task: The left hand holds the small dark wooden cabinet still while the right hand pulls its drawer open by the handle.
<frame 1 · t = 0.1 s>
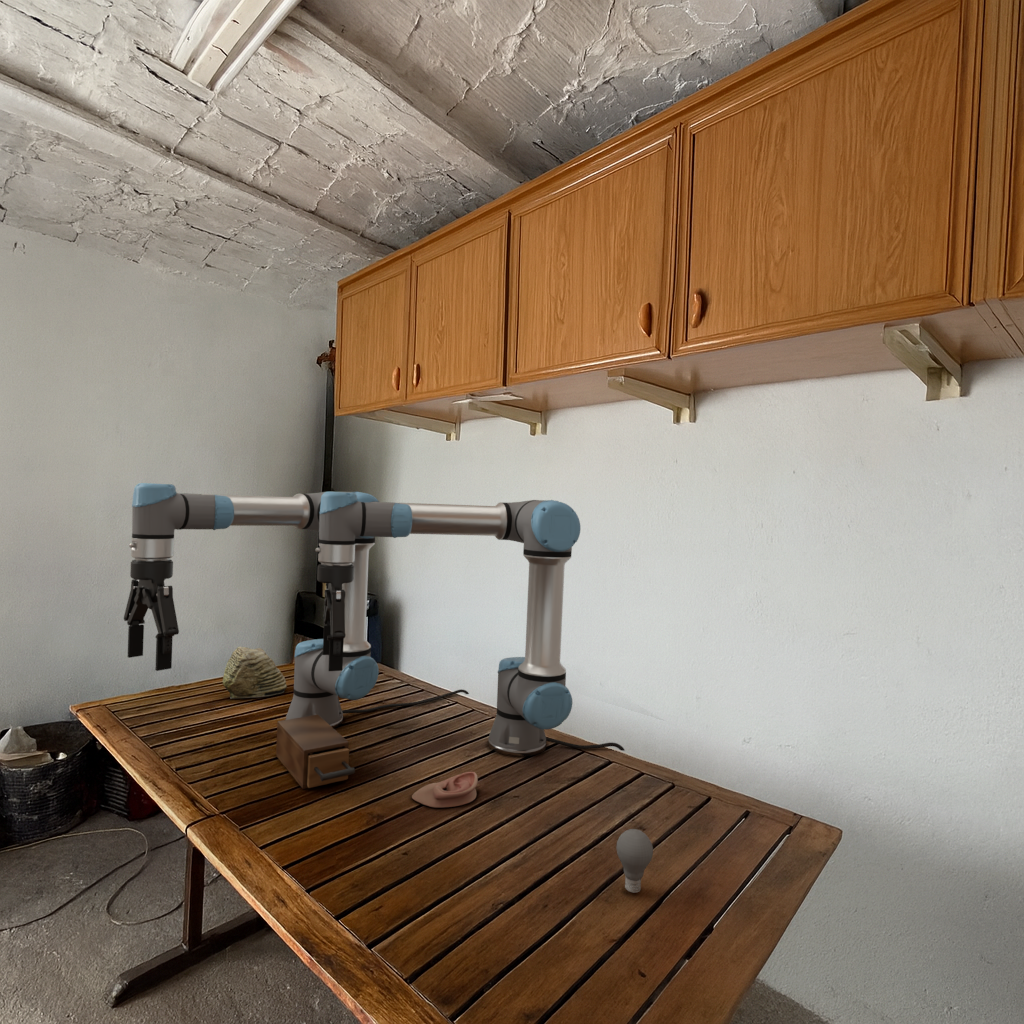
left hand: (148, 662, 129), 28 cm above the table, tool pointing down, fingers open, 13 cm apart
right hand: (332, 662, 136), 28 cm above the table, tool pointing down, fingers open, 13 cm apart
anatomical model: (445, 796, 136), on the table
cabinet: (310, 767, 148), on the table
light bulb: (632, 891, 106), on the table
fossil: (254, 694, 198), on the table
drawer: (318, 757, 143), point 4 cm above the table, slide at 0.9 cm
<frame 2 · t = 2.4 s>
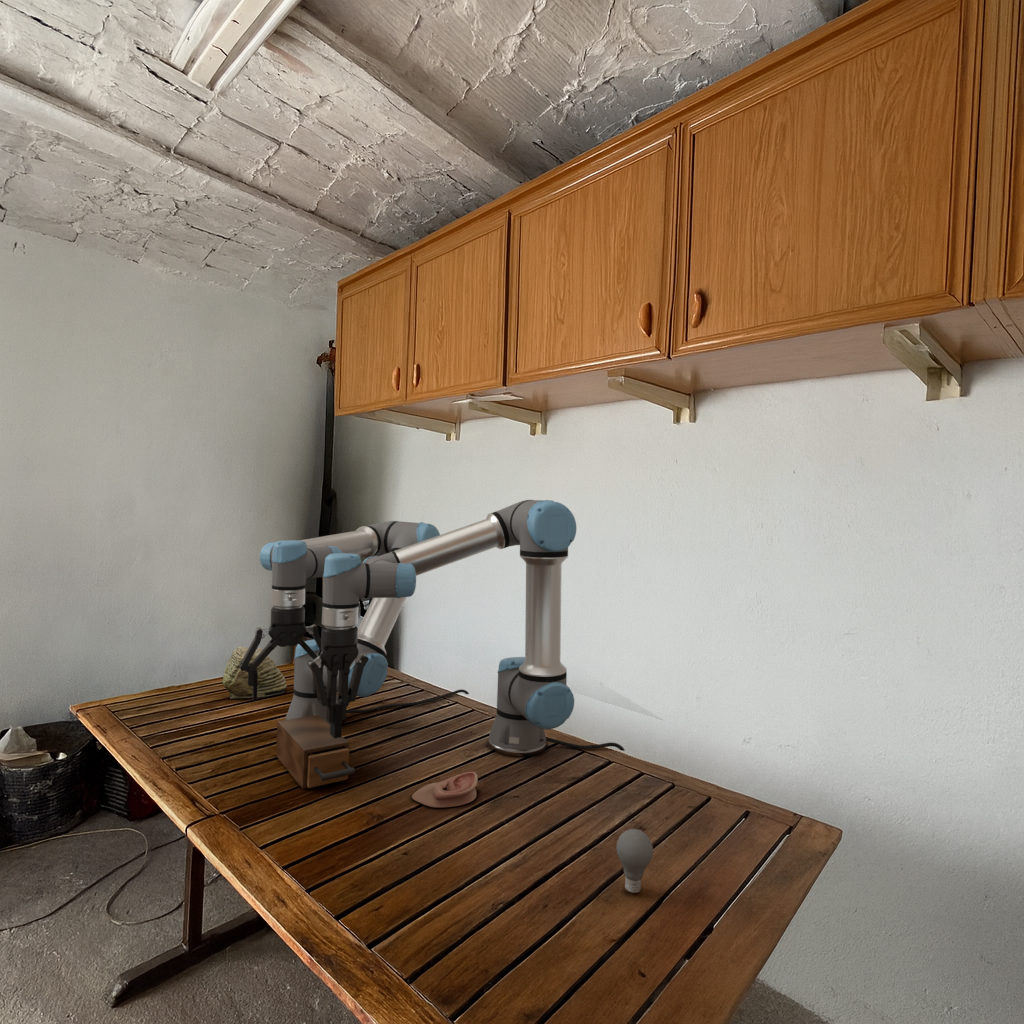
left hand: (285, 696, 149), 16 cm above the table, tool pointing down, fingers open, 13 cm apart
right hand: (335, 735, 135), 12 cm above the table, tool pointing down, fingers closed
nothing on the table moved.
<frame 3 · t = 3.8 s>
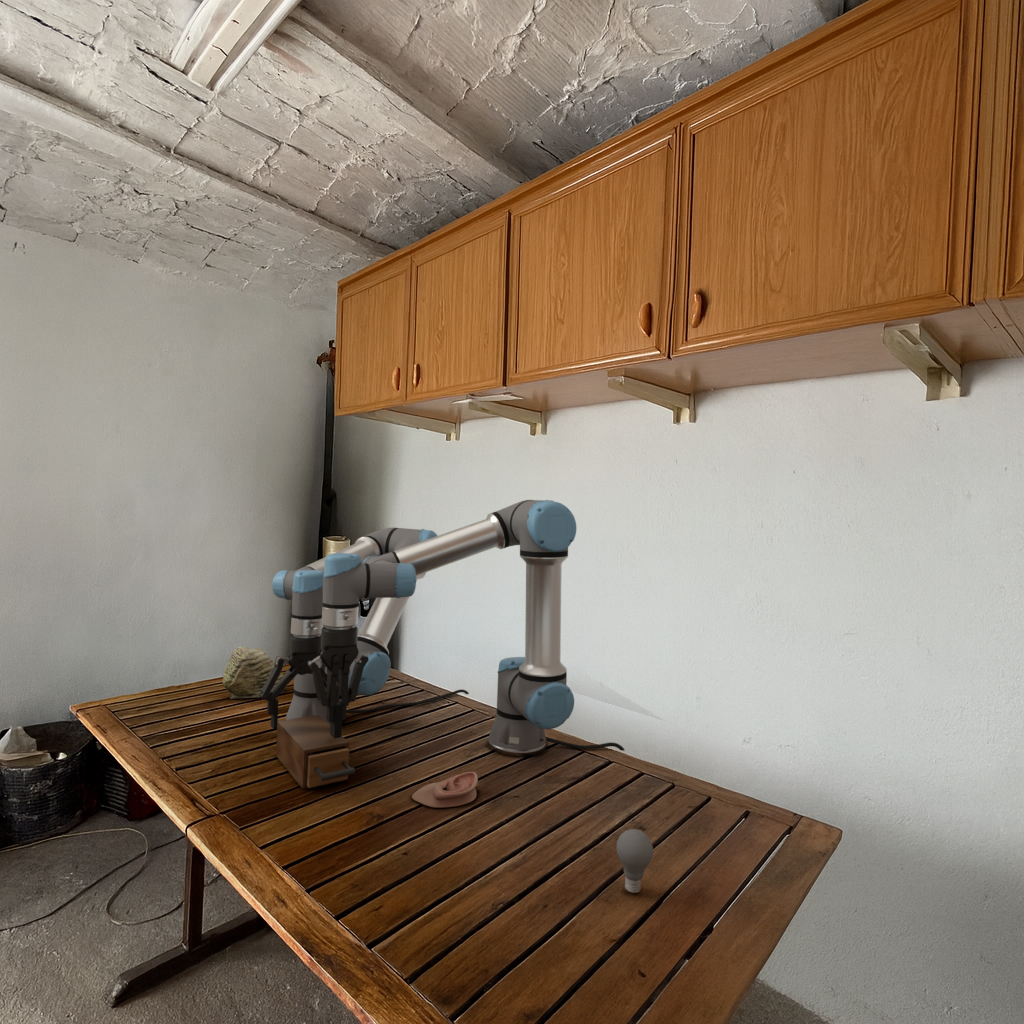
left hand: (303, 723, 152), 9 cm above the table, tool pointing down, fingers open, 13 cm apart
right hand: (335, 735, 135), 12 cm above the table, tool pointing down, fingers closed
nothing on the table moved.
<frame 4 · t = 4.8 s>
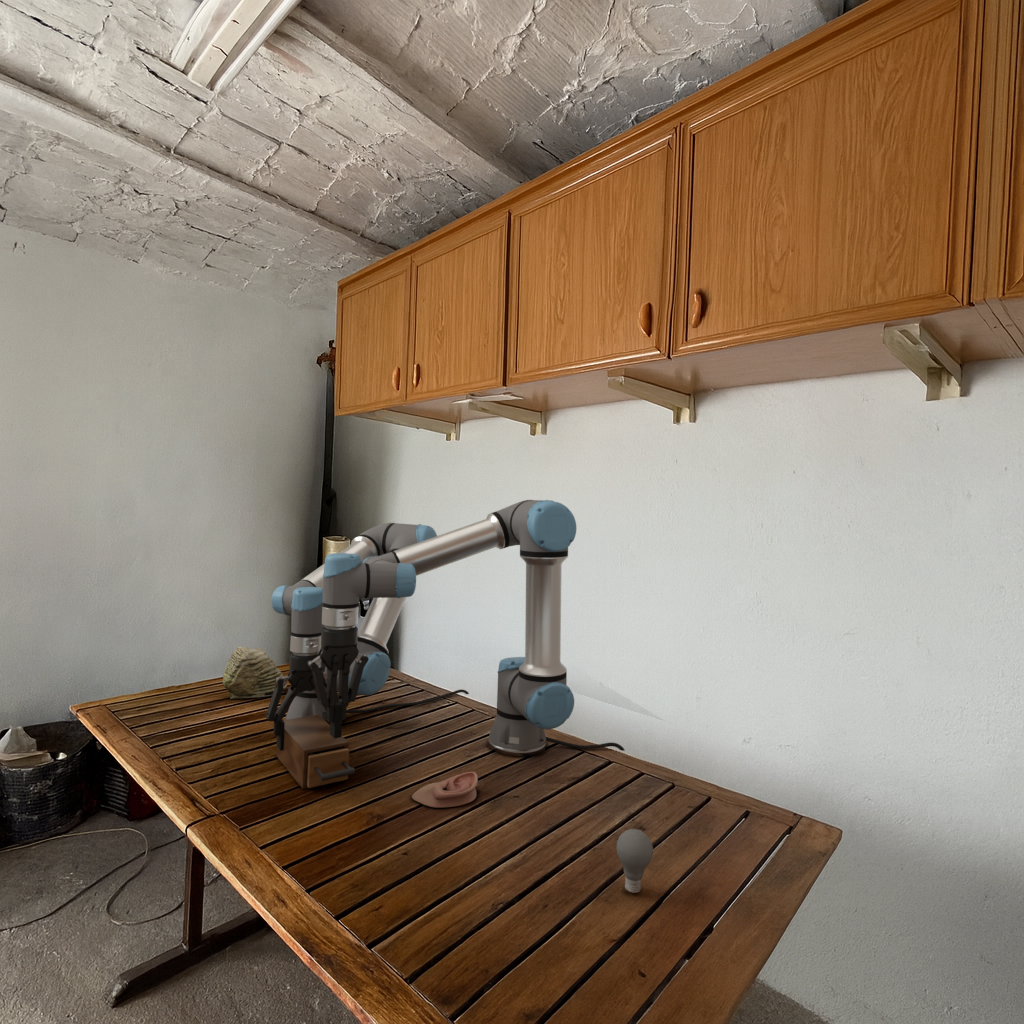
left hand: (302, 744, 153), 3 cm above the table, tool pointing down, fingers closed on cabinet, 10 cm apart
right hand: (335, 735, 135), 12 cm above the table, tool pointing down, fingers closed
cabinet: (310, 766, 148), on the table, touching left hand
everything else where it was.
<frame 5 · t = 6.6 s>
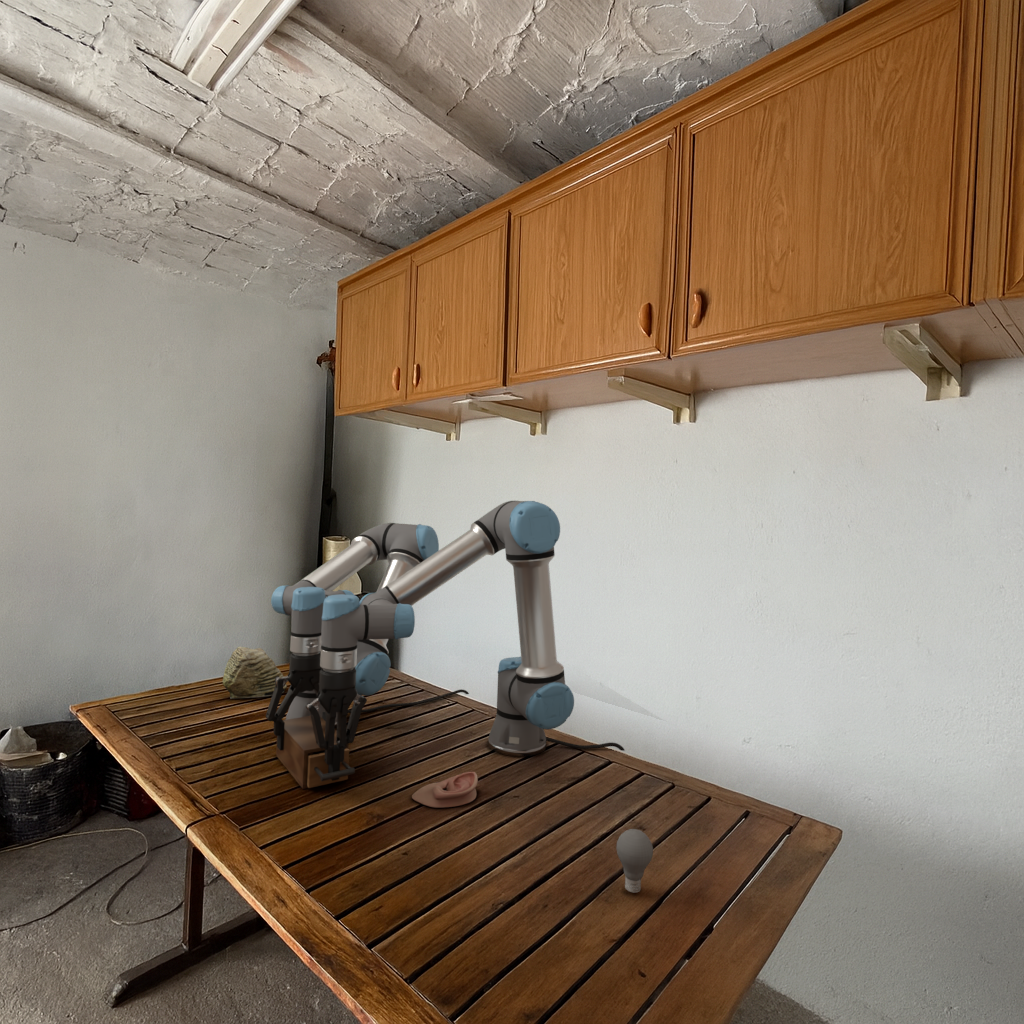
left hand: (302, 743, 153), 3 cm above the table, tool pointing down, fingers closed on cabinet, 10 cm apart
right hand: (333, 777, 136), 3 cm above the table, tool pointing down, fingers closed
cabinet: (310, 766, 148), on the table, touching left hand
drawer: (318, 757, 143), point 4 cm above the table, slide at 0.9 cm, touching right hand
everything else where it was.
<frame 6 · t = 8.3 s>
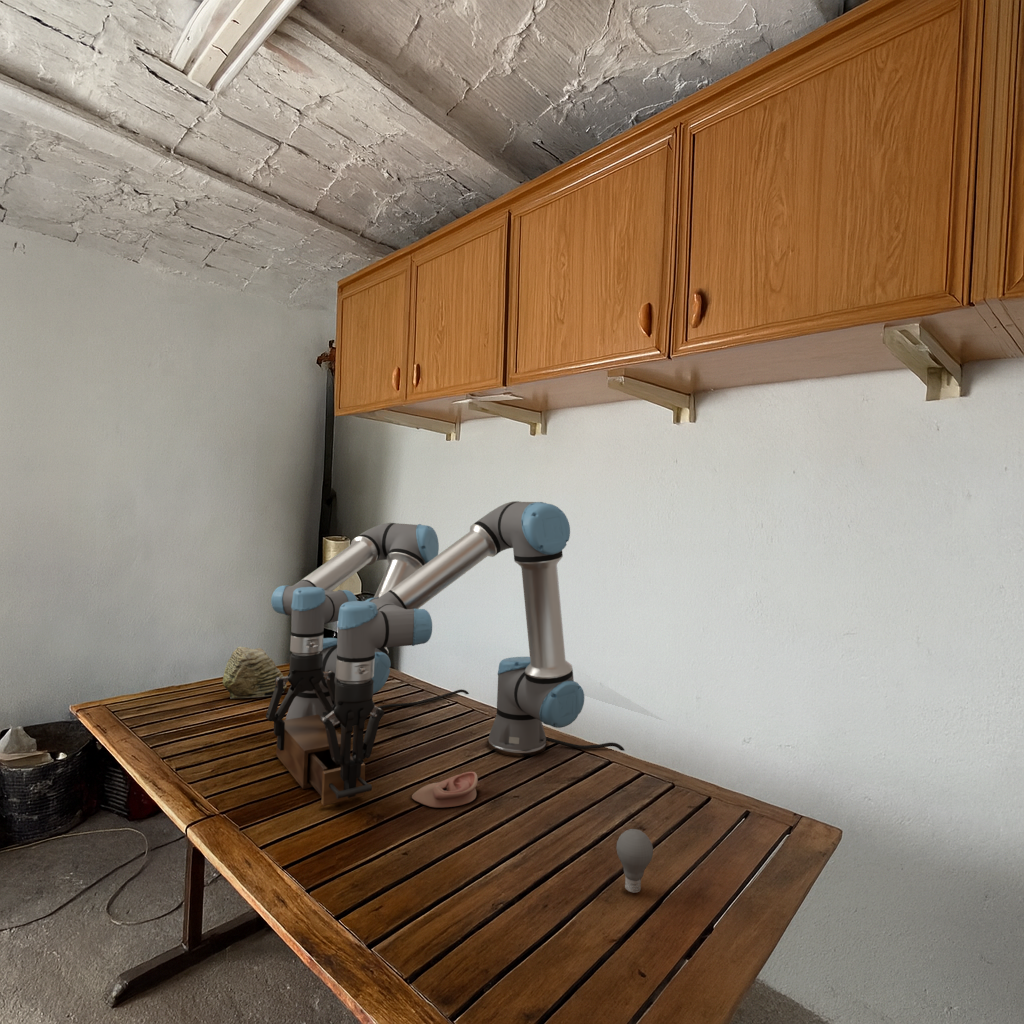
left hand: (303, 744, 153), 3 cm above the table, tool pointing down, fingers closed on cabinet, 10 cm apart
right hand: (349, 794, 128), 3 cm above the table, tool pointing down, fingers closed
cabinet: (310, 766, 148), on the table, touching left hand
drawer: (332, 772, 136), point 4 cm above the table, slide at 9.7 cm, touching right hand
everything else where it was.
when the left hand's fingers open (3 cm above the table, at t = 9.9 s): cabinet stays where it is, on the table.
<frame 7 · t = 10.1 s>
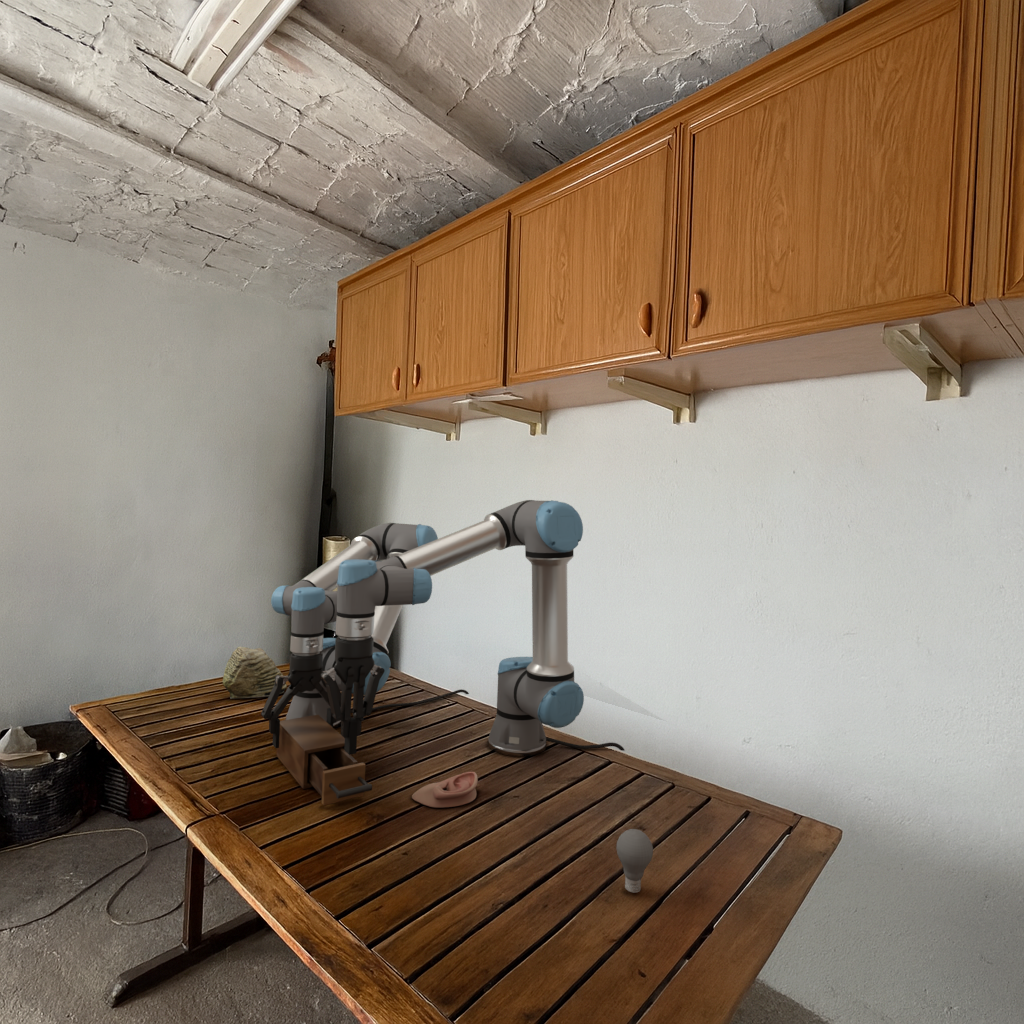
left hand: (303, 741, 153), 4 cm above the table, tool pointing down, fingers open, 12 cm apart
right hand: (350, 751, 129), 12 cm above the table, tool pointing down, fingers closed
cabinet: (310, 767, 148), on the table
drawer: (333, 772, 136), point 4 cm above the table, slide at 9.8 cm
everything else where it was.
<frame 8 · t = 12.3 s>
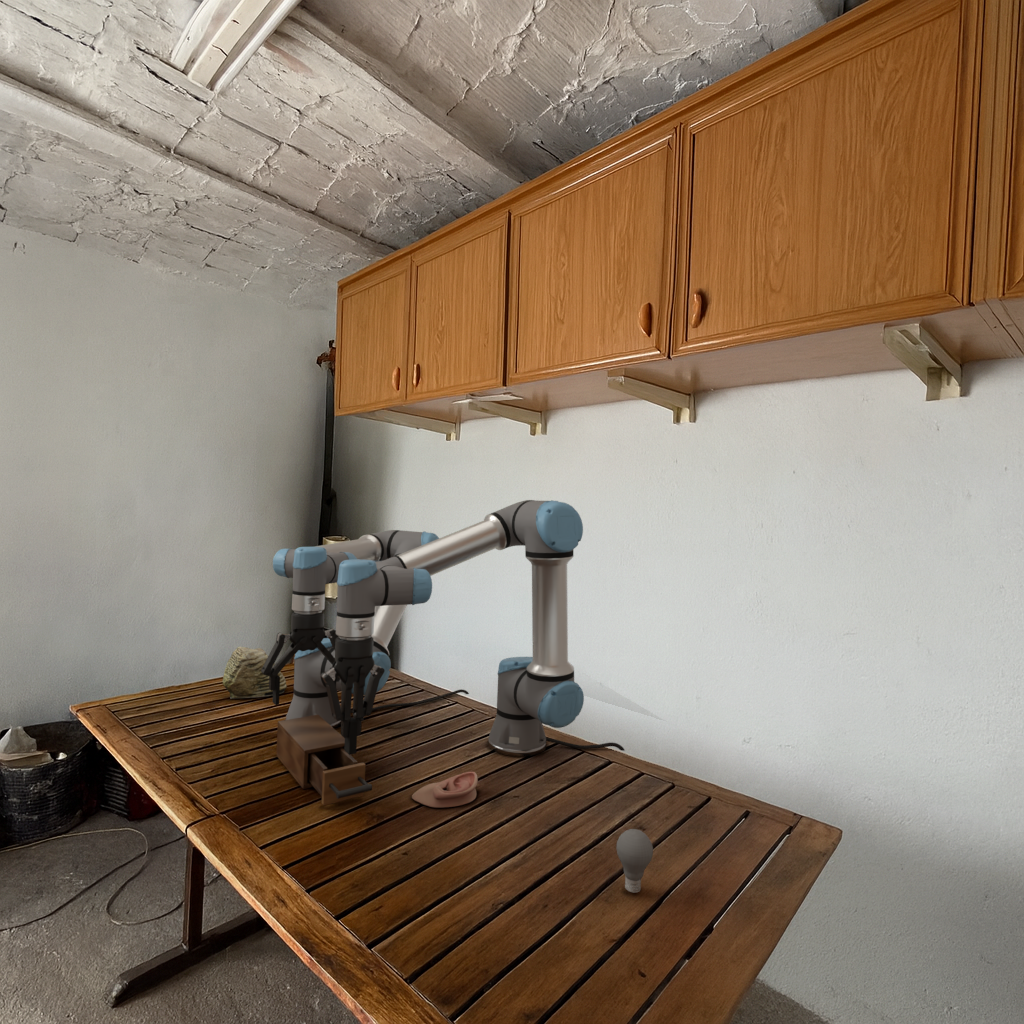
left hand: (304, 699, 152), 14 cm above the table, tool pointing down, fingers open, 13 cm apart
right hand: (350, 751, 129), 12 cm above the table, tool pointing down, fingers closed
nothing on the table moved.
at the end: drawer slide at 9.8 cm; cabinet tilted 0°; cabinet never tilted more than 1° during the clip; cabinet moved 0.1 cm from its start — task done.
